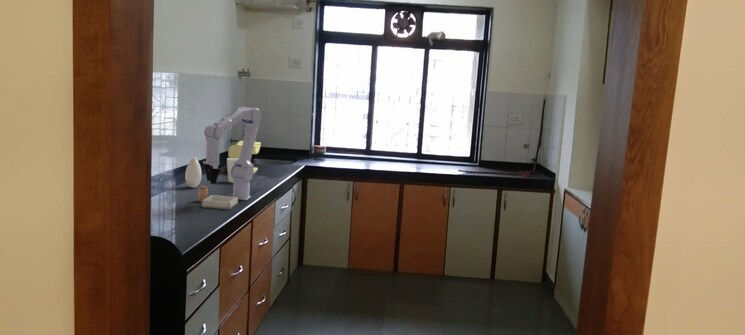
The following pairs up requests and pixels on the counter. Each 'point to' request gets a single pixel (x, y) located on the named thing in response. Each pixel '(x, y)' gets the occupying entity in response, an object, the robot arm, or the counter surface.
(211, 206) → the tray
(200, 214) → the counter surface
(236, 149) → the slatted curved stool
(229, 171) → the foam cup
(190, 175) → the white tall oval piece
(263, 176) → the counter surface
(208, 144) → the robot arm
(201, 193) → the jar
